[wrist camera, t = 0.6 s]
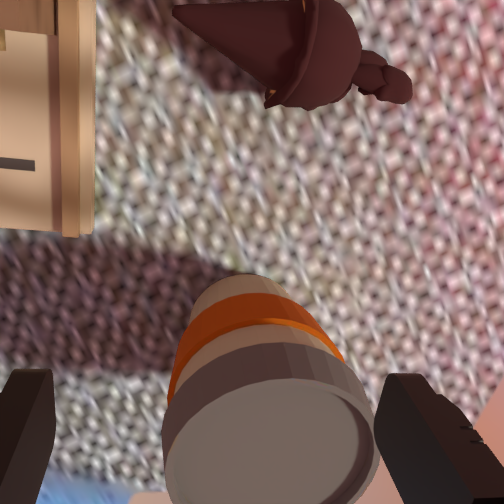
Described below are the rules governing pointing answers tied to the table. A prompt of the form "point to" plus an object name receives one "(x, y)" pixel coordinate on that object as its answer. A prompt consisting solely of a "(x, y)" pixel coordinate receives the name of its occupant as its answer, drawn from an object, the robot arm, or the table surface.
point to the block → (27, 17)
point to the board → (49, 124)
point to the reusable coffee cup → (263, 405)
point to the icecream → (296, 50)
